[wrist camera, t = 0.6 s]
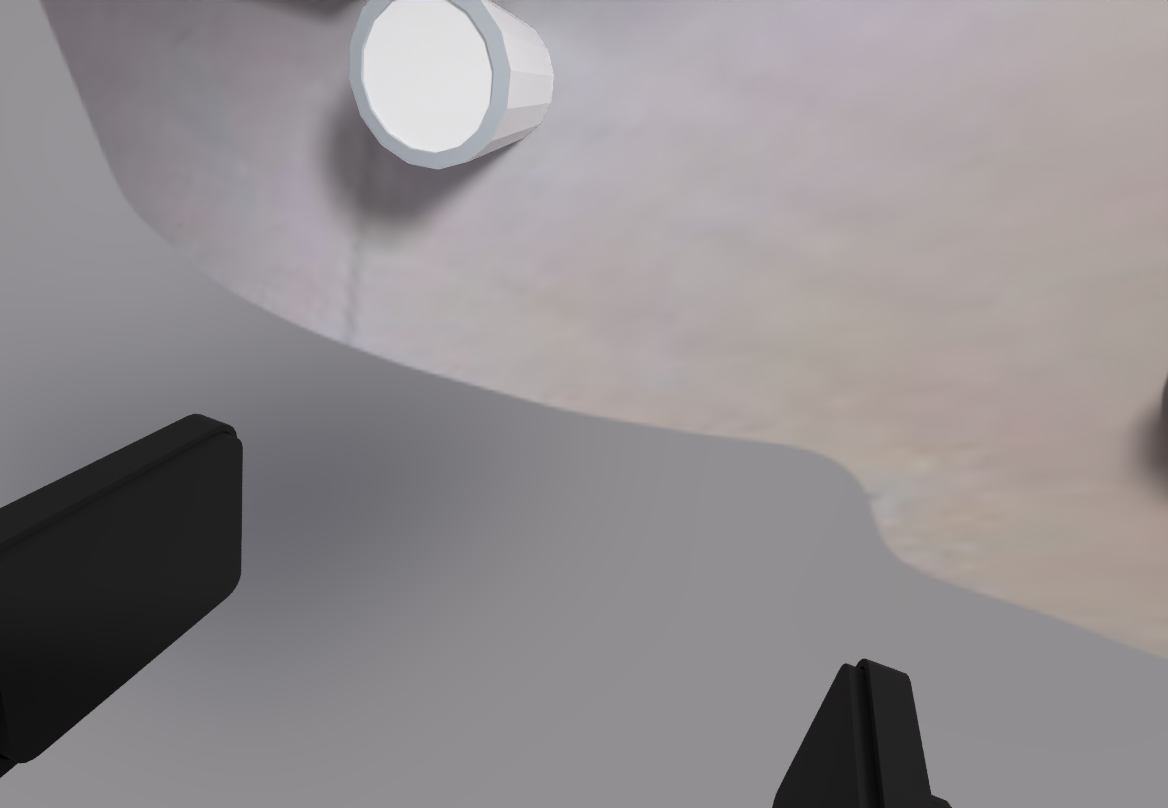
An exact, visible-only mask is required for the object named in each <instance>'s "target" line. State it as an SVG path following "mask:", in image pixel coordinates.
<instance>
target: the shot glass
mask: <svg viewBox="0 0 1168 808" xmlns="http://www.w3.org/2000/svg"><path fill="white" fill-rule="evenodd" d="M349 81H350V84H351V87H352V90H353V93H354V97H355V100H356V103H357V106H358V109H359V113H360V116H361V117H362V119H363V120H364V122H365V123H366V124H367V126H368V127H369V129H370V130H371V131H372V133H373V134H374V136H375V137H376V139H377V140H378V141H379V143H380V144H381V145H382V146H383V147H385V148H386V149H388V150H389V151H391V152H392V153H393V154H395V155H396V156H398V157H399V158H401V159H402V160H404V161H405V162H406V163H408V164H413V165H418V166H423V167H427V168H432V169H437V170H439V169H442V168H446V167H450V166H454V165H458V164H462V163H465V162H468V161H471V160H473V159H476V158H478V157H480V156H483V155H485V154H487V153H490V152H492V151H495V150H497V149H499V148H502V147H504V146H506V145H509V144H511V143H514V142H516V141H518V140H521V139H523V138H524V137H525V136H526V135H528V134H529V133H530V132H531V131H532V130H534V129H535V128H536V127H537V126H538V125H540V123H541V121H542V119H543V117H544V115H545V113H546V111H547V109H548V108H549V106H550V104H551V99H552V90H553V82H554V74H553V70H552V65H551V61H550V56H549V52H548V50H547V48H546V47H545V45H544V43H543V42H542V40H541V39H540V37H539V36H538V34H537V33H536V31H535V30H534V29H533V28H532V27H530V26H529V25H527V24H526V23H525V22H523V21H522V20H520V19H519V18H517V17H516V16H514V15H513V14H511V13H509V12H508V11H506V10H504V9H503V8H501V7H499V6H497V5H496V4H494V3H492V2H491V1H489V0H369V1H368V3H367V4H366V5H365V6H364V7H363V8H362V10H361V12H360V15H359V18H358V21H357V24H356V27H355V29H354V32H353V35H352V38H351V41H350V70H349Z"/></svg>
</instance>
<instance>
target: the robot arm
mask: <svg viewBox="0 0 1168 808" xmlns="http://www.w3.org/2000/svg"><path fill="white" fill-rule="evenodd" d="M242 455H243V447H242V443H241V441H240V440H239V439H238V438H237V436H236V431H235V430H234V428H233V427H231V426H230V425H228V424H225V423H223V422H219V421H217V420H214V419H212V418H209V417H206V416H204V415H201V414H192V415H189V416H187V417H184V418H183V419H180V420H178V421H176V422H175V423H172V424H170V425H168V426H166V427H164V428H162V429H160V430H158V431H156V432H154V433H152V434H150V435H148V436H146V437H144V438H142V439H140V440H138V441H136V442H134V443H132V444H130V445H128V446H126V447H124V448H122V449H120V450H118V451H115V452H114V453H111V454H109V455H108V456H105V457H103V458H102V459H99V460H97V461H95V462H93V463H91V464H89V465H87V466H85V467H83V468H81V469H79V470H77V471H75V472H73V473H71V474H69V475H67V476H65V477H63V478H61V479H59V480H57V481H55V482H53V483H51V484H49V485H47V486H44V487H43V488H40V489H38V490H37V491H34V492H32V493H30V494H28V495H26V496H24V497H22V498H20V499H18V500H16V501H14V502H12V503H10V504H8V505H6V506H4V507H2V508H0V778H1V777H2V776H3V775H4V774H6V773H7V772H8V771H9V770H10V769H12V768H13V767H14V766H15V765H16V764H18V763H26V762H28V761H30V760H33V759H34V758H36V757H37V756H39V755H40V754H41V753H42V752H43V751H45V750H46V749H47V748H48V747H50V746H51V745H52V744H53V743H54V742H55V741H57V740H58V739H59V738H60V737H62V736H63V735H64V734H65V733H66V732H67V731H69V730H70V729H71V728H72V727H73V726H75V725H76V724H77V723H78V722H79V721H80V720H81V719H83V718H84V717H85V716H87V715H88V714H89V713H90V712H91V711H92V710H94V709H95V708H96V707H97V706H98V705H100V704H101V703H102V702H103V701H104V700H105V699H107V698H108V697H109V696H110V695H112V694H113V693H114V692H115V691H116V690H117V689H119V688H120V687H121V686H122V685H123V684H125V683H126V682H127V681H128V680H129V679H131V678H132V677H133V676H134V675H135V674H137V673H138V671H140V670H141V669H142V668H144V667H145V666H146V665H147V664H148V663H150V662H151V661H152V660H153V659H154V658H156V657H157V656H158V655H159V654H160V653H162V652H163V650H165V649H166V648H167V647H169V646H170V645H171V644H172V643H173V642H175V641H176V640H177V639H178V638H179V637H181V636H182V635H183V634H184V633H185V632H187V631H188V630H189V629H190V628H191V627H192V626H194V625H195V624H196V623H197V622H198V621H200V620H201V619H202V618H203V617H204V616H206V615H207V614H208V613H209V612H210V611H211V610H213V609H214V608H215V607H216V606H217V605H219V604H220V603H221V602H222V601H223V600H225V599H226V598H227V597H228V596H229V595H230V594H231V593H232V592H233V590H234V589H235V588H236V586H237V584H238V582H239V579H240V576H241V539H242V537H241V536H242V460H243V459H242V457H243V456H242ZM772 808H952V807H951V806H950V805H949V803H948V802H947V801H946V800H943V799H940V798H938V797H935V796H933V795H931V790H930V786H929V780H928V774H927V769H926V763H925V758H924V752H923V748H922V741H921V736H920V731H919V725H918V720H917V714H916V709H915V703H914V698H913V692H912V687H911V682H910V679H909V676H908V675H907V674H906V673H903V672H900V671H898V670H895V669H892V668H889V667H887V666H884V665H881V664H878V663H876V662H873V661H870V660H868V659H862V660H860V661H859V662H858V664H857V665H856V667H854V666H852V665H849V664H843V665H842V666H841V668H840V670H839V671H838V673H837V675H836V678H835V680H834V681H833V683H832V685H831V687H830V689H829V691H828V693H827V695H826V697H825V699H824V701H823V703H822V705H821V707H820V709H819V711H818V712H817V714H816V716H815V718H814V721H813V722H812V724H811V726H810V728H809V730H808V732H807V734H806V736H805V738H804V740H803V742H802V744H801V746H800V748H799V750H798V752H797V754H796V756H795V758H794V759H793V761H792V763H791V765H790V767H789V769H788V771H787V773H786V775H785V777H784V779H783V781H782V783H781V785H780V787H779V789H778V791H777V793H776V796H775V799H774V803H773V807H772Z"/></svg>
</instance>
